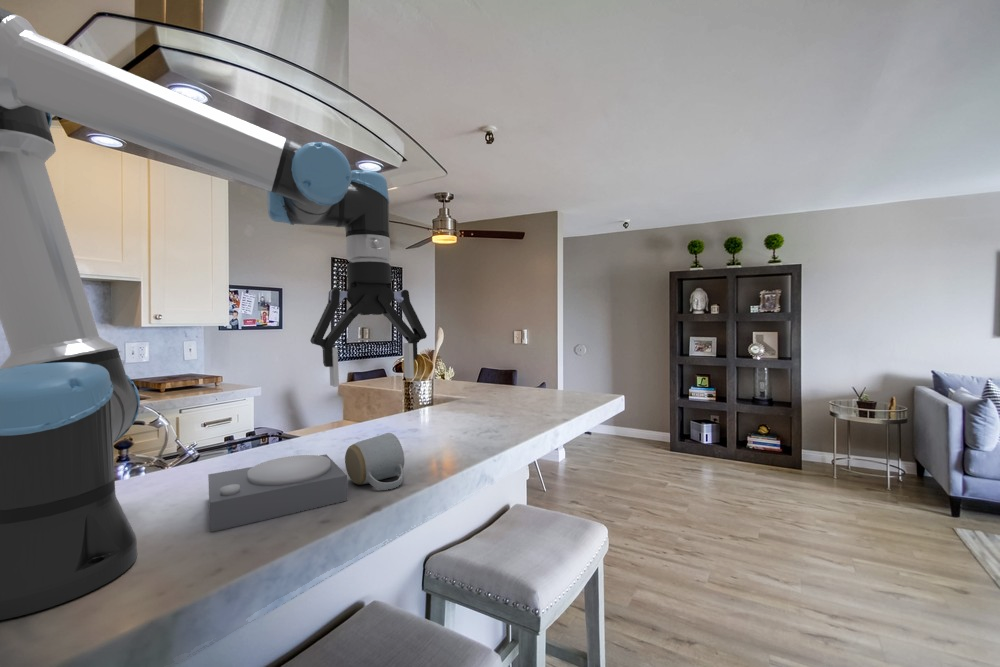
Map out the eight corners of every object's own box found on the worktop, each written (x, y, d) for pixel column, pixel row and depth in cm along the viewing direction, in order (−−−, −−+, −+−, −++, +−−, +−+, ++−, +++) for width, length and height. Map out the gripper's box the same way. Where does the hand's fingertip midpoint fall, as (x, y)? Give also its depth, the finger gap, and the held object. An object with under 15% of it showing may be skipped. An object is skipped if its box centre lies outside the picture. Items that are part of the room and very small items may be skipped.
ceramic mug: (342, 480, 80) (341, 437, 79) (384, 469, 85) (383, 429, 85) (372, 497, 72) (371, 450, 72) (416, 484, 78) (415, 439, 78)
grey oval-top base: (210, 532, 61) (209, 495, 60) (209, 498, 73) (208, 467, 72) (347, 500, 71) (346, 469, 70) (326, 475, 82) (325, 448, 82)
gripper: (297, 255, 70) (303, 392, 71) (441, 263, 84) (445, 376, 85) (288, 261, 76) (294, 387, 77) (424, 267, 91) (428, 373, 91)
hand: (373, 381), depth 81 cm, fingers open, 13 cm apart
